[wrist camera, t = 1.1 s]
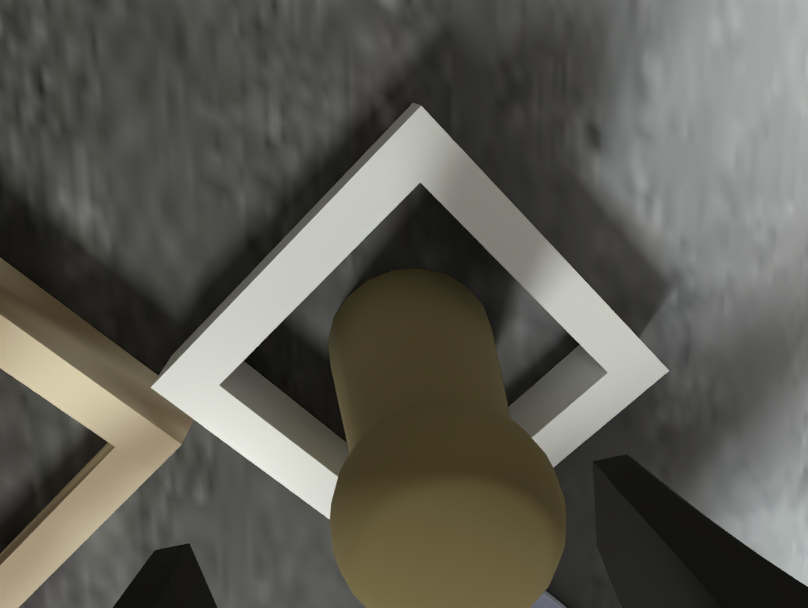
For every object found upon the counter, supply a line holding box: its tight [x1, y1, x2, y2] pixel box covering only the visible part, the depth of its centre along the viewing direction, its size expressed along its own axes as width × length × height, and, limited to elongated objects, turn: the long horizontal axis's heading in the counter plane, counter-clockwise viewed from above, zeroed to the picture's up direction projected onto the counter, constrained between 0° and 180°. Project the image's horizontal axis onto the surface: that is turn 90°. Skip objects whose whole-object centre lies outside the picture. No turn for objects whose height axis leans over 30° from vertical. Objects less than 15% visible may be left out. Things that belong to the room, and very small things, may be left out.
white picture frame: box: [151, 103, 669, 519], centre depth 21 cm, size 12×12×2 cm
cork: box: [328, 268, 567, 608], centre depth 17 cm, size 6×6×11 cm
